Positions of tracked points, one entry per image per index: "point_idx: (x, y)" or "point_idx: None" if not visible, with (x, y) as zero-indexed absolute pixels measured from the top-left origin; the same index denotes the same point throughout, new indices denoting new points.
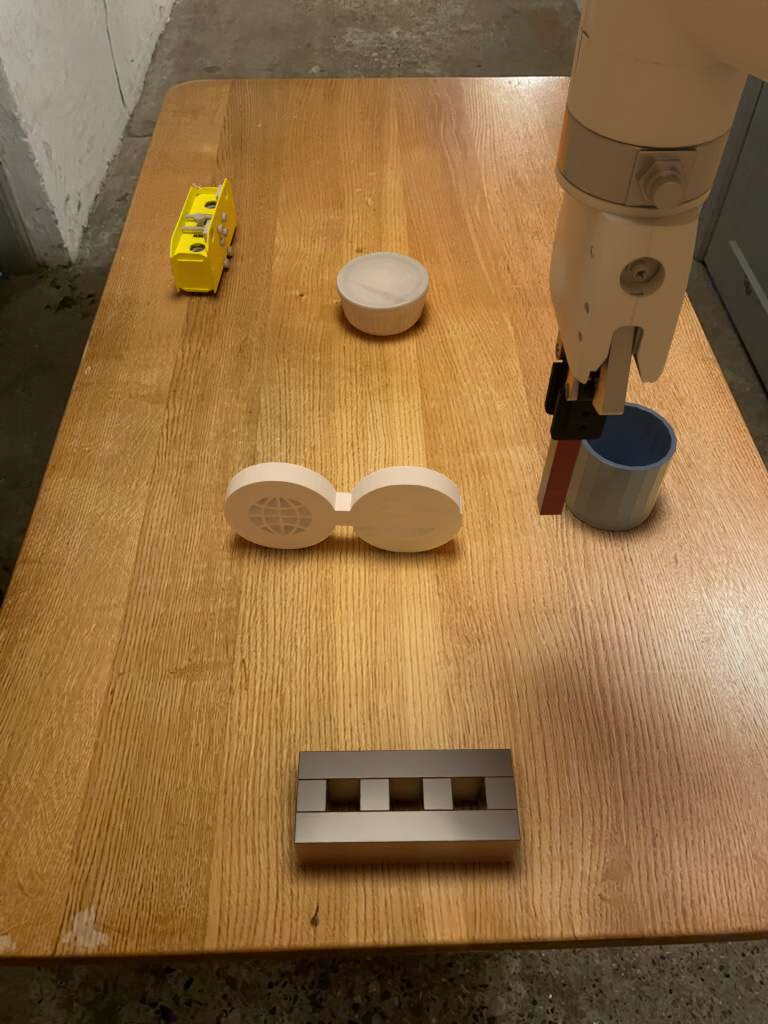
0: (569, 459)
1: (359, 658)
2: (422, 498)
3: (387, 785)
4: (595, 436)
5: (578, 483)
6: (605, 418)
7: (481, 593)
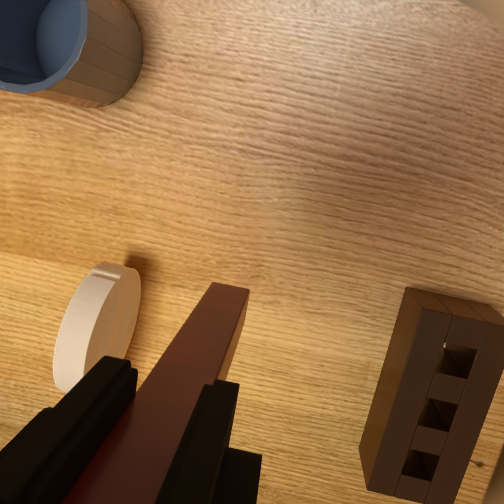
0: (223, 371)
1: (254, 380)
2: (100, 332)
3: (423, 428)
4: (236, 398)
5: (79, 99)
6: (225, 434)
7: (203, 246)
